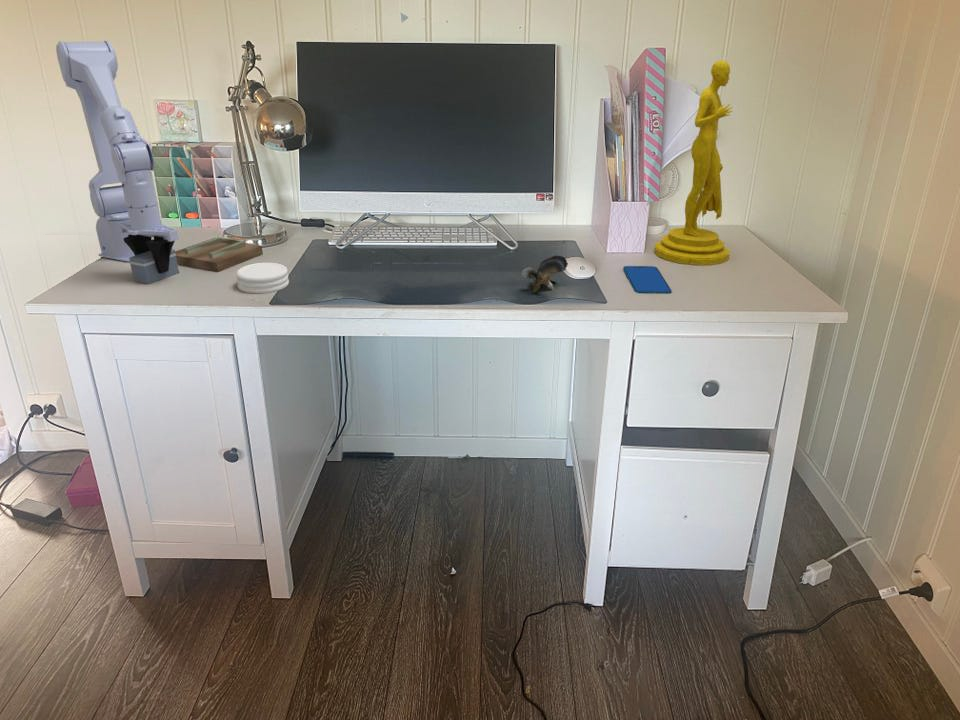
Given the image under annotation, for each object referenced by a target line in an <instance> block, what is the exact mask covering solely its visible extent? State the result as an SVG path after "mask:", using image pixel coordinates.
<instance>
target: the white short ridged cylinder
mask: <svg viewBox="0 0 960 720" xmlns="http://www.w3.org/2000/svg"><path fill="white" fill-rule="evenodd" d="M288 272H289V270H288V268H287V267H286V266H285V265H283V264H280V263H276V262H258V263H252V264H248V265H247V264H246V265H245V266H242V267H241V268H238V269H237V270H236V272H235V276H236V282H237V288H238V289H239V290H240V291H242V292H244V293H248V294H266V293H267V294H268V293H274V292H278V291H281V290H283V289H285V288H286V287H287V286H289V283H290V280H289V274H288Z"/></svg>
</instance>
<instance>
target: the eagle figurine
mask: <svg viewBox="0 0 960 720" xmlns="http://www.w3.org/2000/svg"><path fill="white" fill-rule="evenodd" d="M568 264H569V263H568V260H567V259H566V257H565V256H562V255H553V256H551V257H548V258H546V259H544V260H542V261H541V262H540V264H539V266H538V268H537V270H535V269H534V268H533V267H531V266H530V267H526V268H525V269H523V270H522V271H521V276H522V277H523V278H524V279H529V280H530V279H532V280H533V282H531V281H529V282H528V285H532V286H533V291H532V293H533V292H535V293H537V292H538V291H539V289H540V287H541V285H543V286H546V287H547V288H548V289H550V290H552V289H554V285H553V283H558V281H556V280H553V278H551V277H552V275H557V274H558V273H562V272H564V271H566V270H567V267H568ZM552 281H553V283H552Z"/></svg>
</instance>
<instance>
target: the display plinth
mask: <svg viewBox="0 0 960 720" xmlns="http://www.w3.org/2000/svg"><path fill="white" fill-rule="evenodd" d="M175 253H176V259H177V265H178V266H179V265H180V266H185V267H189V268H194V269H195V268H196V269H200V270H205V271H206V270H207V271H211V272H216V273H219V272H221V271H224V270H227V269H229V268H232V267H234V266H237V265H239V264H241V263H244V262H246V261H249V260H252V259H254V258H256V257H259V256H262V255H263V253H264V252H263V246H262V245H261V244H255V243H254V244H253V243H247V242H245V240H244V239H239V238H233V237H232V238H231V237H226V236H223V237H213V238H211V239H208V240H205V241H201V242H198V243H196V244H193V245H190V246H187V247H184V248H181V249H178V250H175Z"/></svg>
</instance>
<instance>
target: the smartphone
mask: <svg viewBox="0 0 960 720" xmlns="http://www.w3.org/2000/svg"><path fill="white" fill-rule="evenodd" d="M622 269H623V270H622V271H623V273H624V274H625V277H626V278H627V280H628V282H629V284H630V285H631V287H632V289H633V291H634V292H635V293H636V294H659V295H660V294H666V295H667V294H672V289H671V287H670V286H669V284H668V283H667V281H666V280H665V278H664V276H663V275H662V273H661V271H660V270H659V269H658V267H656V266H653V265H651V266H650V265H649V266H648V265H647V266H646V265H645V266H644V265H625V266H623V268H622Z"/></svg>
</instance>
